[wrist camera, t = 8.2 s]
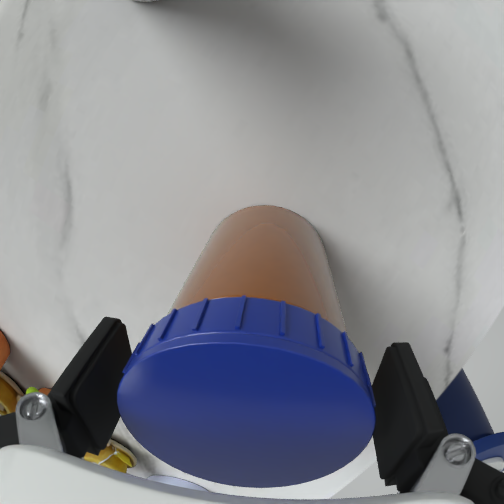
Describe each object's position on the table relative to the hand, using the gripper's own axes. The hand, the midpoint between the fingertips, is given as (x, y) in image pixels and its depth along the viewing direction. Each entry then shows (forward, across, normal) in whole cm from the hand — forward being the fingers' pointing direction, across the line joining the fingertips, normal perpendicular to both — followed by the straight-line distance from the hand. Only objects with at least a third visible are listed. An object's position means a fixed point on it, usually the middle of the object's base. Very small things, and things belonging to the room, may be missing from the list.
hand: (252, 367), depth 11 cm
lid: (-3, 0, 0) cm, 3 cm away
